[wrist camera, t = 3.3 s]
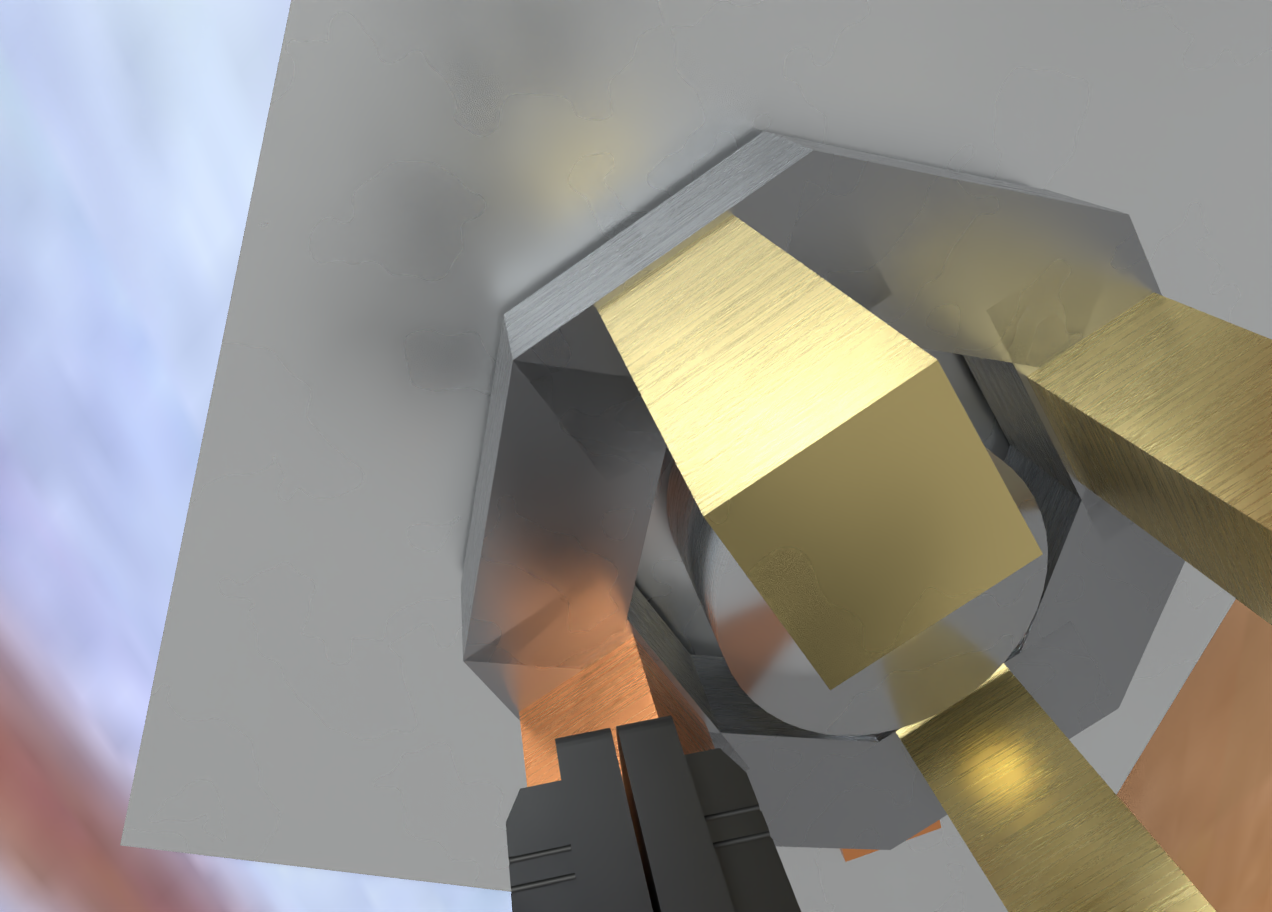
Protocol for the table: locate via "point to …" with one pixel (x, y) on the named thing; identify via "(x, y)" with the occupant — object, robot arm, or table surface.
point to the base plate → (677, 531)
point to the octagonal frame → (872, 493)
